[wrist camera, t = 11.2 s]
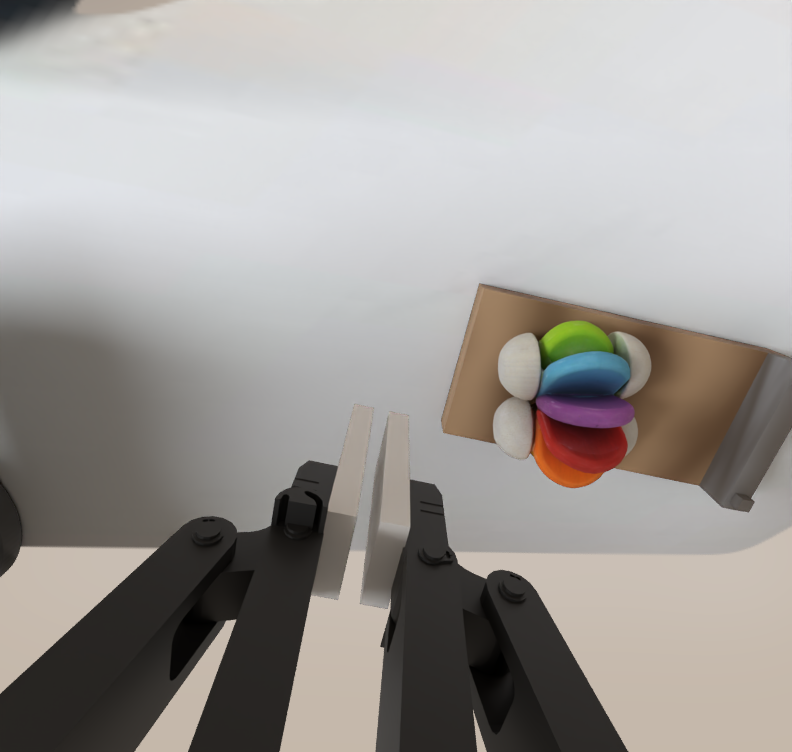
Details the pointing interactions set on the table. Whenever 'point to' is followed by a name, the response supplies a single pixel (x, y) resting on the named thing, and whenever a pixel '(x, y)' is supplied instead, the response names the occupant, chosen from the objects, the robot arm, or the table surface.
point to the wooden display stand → (646, 394)
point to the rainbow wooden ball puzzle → (570, 400)
